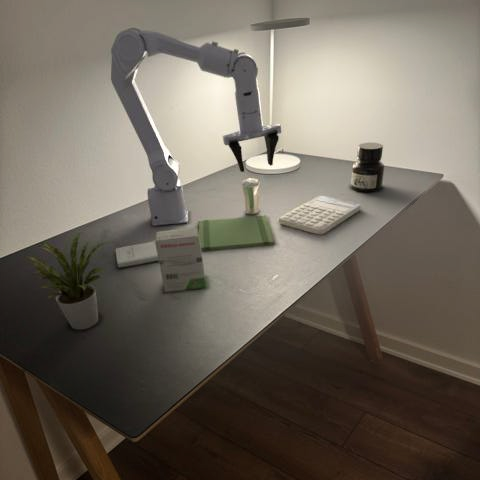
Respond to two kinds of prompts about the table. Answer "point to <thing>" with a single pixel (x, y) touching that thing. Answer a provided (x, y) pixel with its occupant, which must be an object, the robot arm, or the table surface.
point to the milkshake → (251, 195)
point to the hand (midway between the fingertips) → (256, 167)
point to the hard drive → (136, 254)
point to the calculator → (320, 214)
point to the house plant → (73, 285)
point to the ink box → (180, 259)
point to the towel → (235, 233)
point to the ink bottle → (368, 168)
